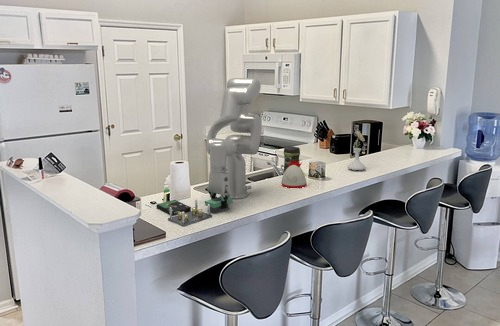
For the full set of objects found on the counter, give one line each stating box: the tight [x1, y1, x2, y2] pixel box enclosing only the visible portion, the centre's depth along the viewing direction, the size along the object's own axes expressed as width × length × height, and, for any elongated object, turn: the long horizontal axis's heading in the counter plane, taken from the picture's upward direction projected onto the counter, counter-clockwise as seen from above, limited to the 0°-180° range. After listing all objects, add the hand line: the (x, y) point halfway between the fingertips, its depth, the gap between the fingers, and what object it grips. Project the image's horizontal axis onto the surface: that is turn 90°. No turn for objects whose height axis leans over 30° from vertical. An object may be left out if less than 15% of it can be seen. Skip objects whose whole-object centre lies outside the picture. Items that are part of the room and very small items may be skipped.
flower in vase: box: [347, 130, 367, 171], centre depth 281 cm, size 13×11×25 cm
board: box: [204, 195, 234, 208], centre depth 203 cm, size 12×6×3 cm, turn 138°
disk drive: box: [156, 199, 192, 217], centre depth 204 cm, size 10×3×15 cm
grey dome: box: [281, 159, 307, 189], centre depth 244 cm, size 14×14×15 cm
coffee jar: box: [282, 145, 301, 176], centre depth 263 cm, size 10×8×19 cm
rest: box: [210, 203, 230, 214], centre depth 204 cm, size 9×4×3 cm, turn 138°
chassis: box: [167, 199, 213, 227], centre depth 191 cm, size 16×11×6 cm
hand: (219, 206), depth 204 cm, fingers closed on board, 6 cm apart
